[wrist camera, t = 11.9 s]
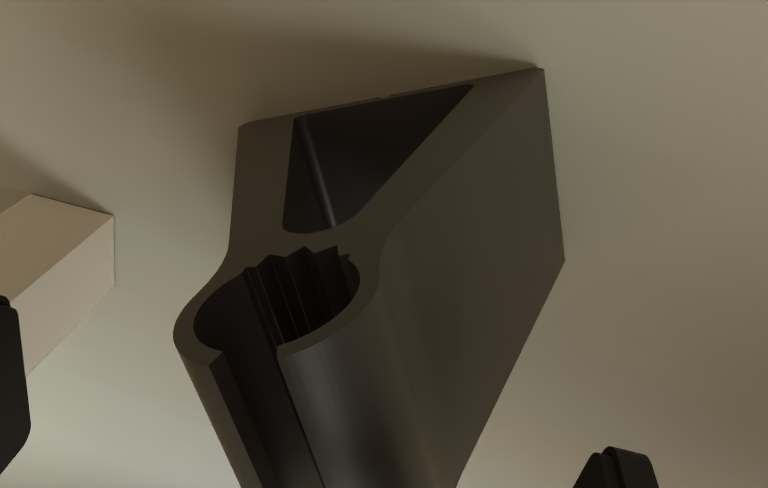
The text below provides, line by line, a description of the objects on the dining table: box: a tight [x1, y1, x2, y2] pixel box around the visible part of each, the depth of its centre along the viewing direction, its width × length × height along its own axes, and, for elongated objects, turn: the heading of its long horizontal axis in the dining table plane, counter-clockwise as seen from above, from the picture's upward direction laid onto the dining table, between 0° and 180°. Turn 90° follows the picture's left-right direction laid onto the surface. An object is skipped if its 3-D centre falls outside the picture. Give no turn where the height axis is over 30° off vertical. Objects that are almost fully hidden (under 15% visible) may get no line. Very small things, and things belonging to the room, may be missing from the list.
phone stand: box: [173, 68, 565, 488], centre depth 14 cm, size 9×6×12 cm, turn 102°
